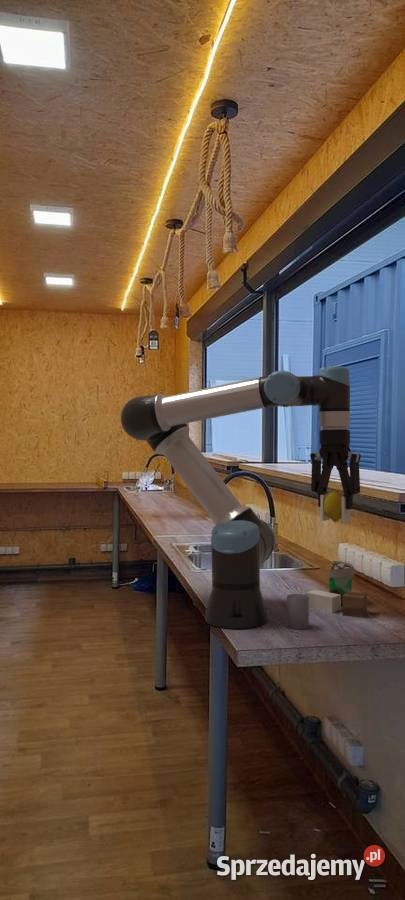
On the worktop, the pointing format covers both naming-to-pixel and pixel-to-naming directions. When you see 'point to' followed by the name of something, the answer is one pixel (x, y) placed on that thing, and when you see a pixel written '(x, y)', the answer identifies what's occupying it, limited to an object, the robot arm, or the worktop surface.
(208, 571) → the worktop surface
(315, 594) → the off-white brick
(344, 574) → the food container
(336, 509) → the lemon
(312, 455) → the robot arm
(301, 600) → the slate cylinder
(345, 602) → the walnut cube
